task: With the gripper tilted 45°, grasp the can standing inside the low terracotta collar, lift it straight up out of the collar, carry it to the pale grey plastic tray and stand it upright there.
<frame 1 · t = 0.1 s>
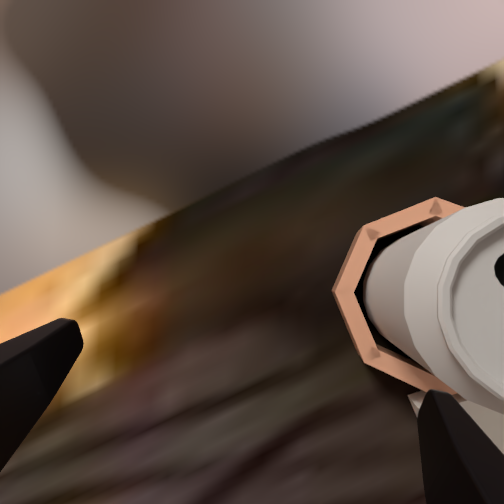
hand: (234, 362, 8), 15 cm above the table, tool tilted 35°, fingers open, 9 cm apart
collar: (419, 293, 21), on the table
can: (418, 293, 21), resting in collar
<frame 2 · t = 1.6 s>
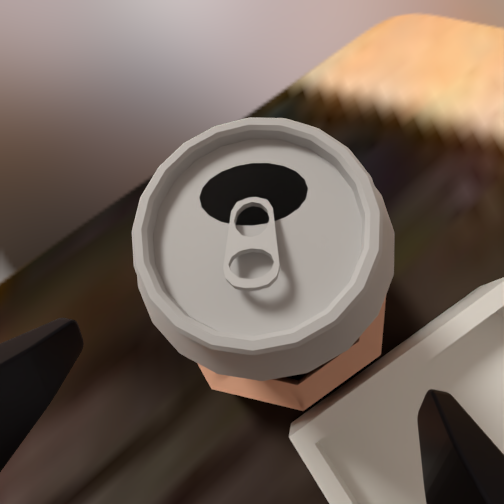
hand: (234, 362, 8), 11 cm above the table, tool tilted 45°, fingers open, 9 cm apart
collar: (279, 298, 19), on the table
tray: (478, 469, 15), on the table
can: (279, 299, 19), resting in collar
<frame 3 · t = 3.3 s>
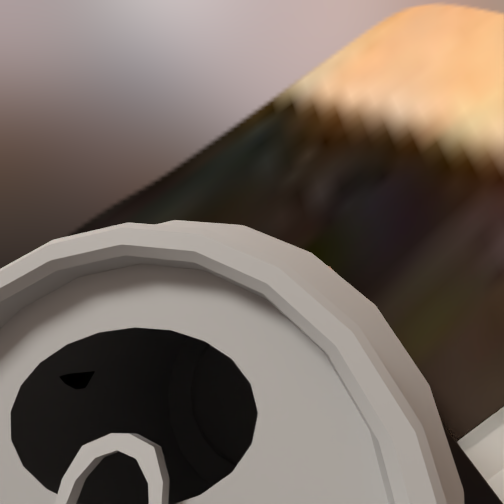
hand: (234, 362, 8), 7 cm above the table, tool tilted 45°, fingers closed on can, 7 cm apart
can: (258, 390, 14), resting in collar, touching gripper
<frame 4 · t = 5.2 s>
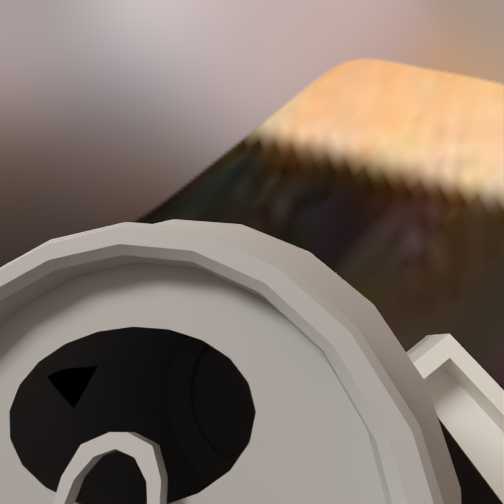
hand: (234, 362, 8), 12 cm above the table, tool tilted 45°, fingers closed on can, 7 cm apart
can: (258, 388, 14), point 5 cm above the table, touching gripper
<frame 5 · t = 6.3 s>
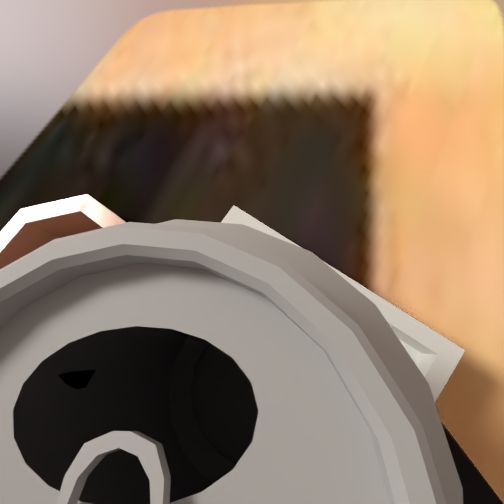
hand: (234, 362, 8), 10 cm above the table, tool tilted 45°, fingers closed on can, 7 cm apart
collar: (85, 295, 20), on the table
tray: (267, 376, 17), on the table
can: (259, 388, 14), point 3 cm above the table, touching gripper
when the fingers open (9 cm above the table, at t = 7.1 s): can drops 1 cm, resting on tray.
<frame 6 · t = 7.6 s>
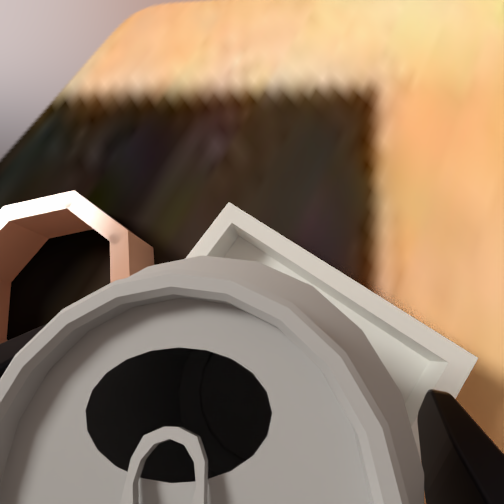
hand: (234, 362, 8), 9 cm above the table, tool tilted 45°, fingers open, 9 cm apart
collar: (72, 297, 19), on the table
tray: (264, 384, 16), on the table
can: (261, 390, 16), point 1 cm above the table, touching tray
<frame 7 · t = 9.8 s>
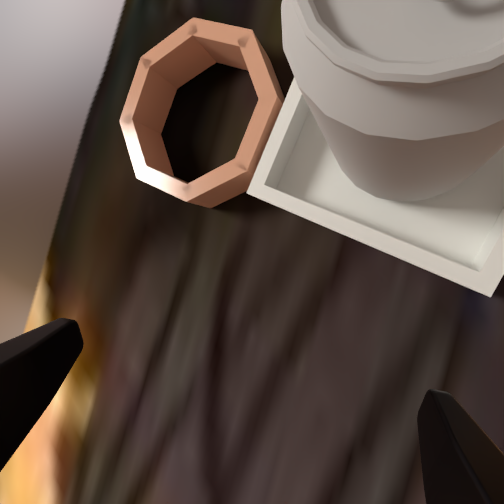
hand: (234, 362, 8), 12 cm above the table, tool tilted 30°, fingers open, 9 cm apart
collar: (213, 127, 23), on the table
tray: (406, 136, 18), on the table
can: (407, 134, 17), point 1 cm above the table, touching tray
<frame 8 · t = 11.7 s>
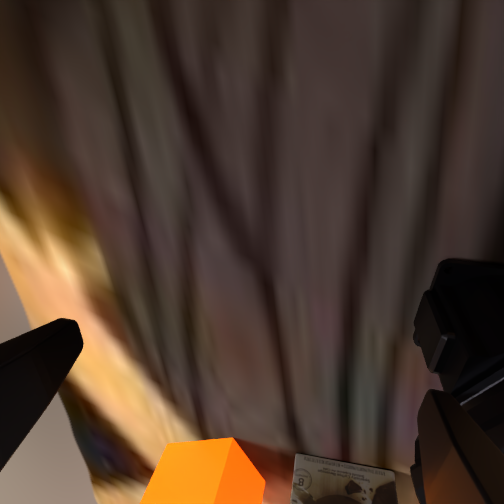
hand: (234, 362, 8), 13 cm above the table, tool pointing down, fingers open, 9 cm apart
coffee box: (341, 476, 32), on the table
orange juice: (216, 460, 36), on the table
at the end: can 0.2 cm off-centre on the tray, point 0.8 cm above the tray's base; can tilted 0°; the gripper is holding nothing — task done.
